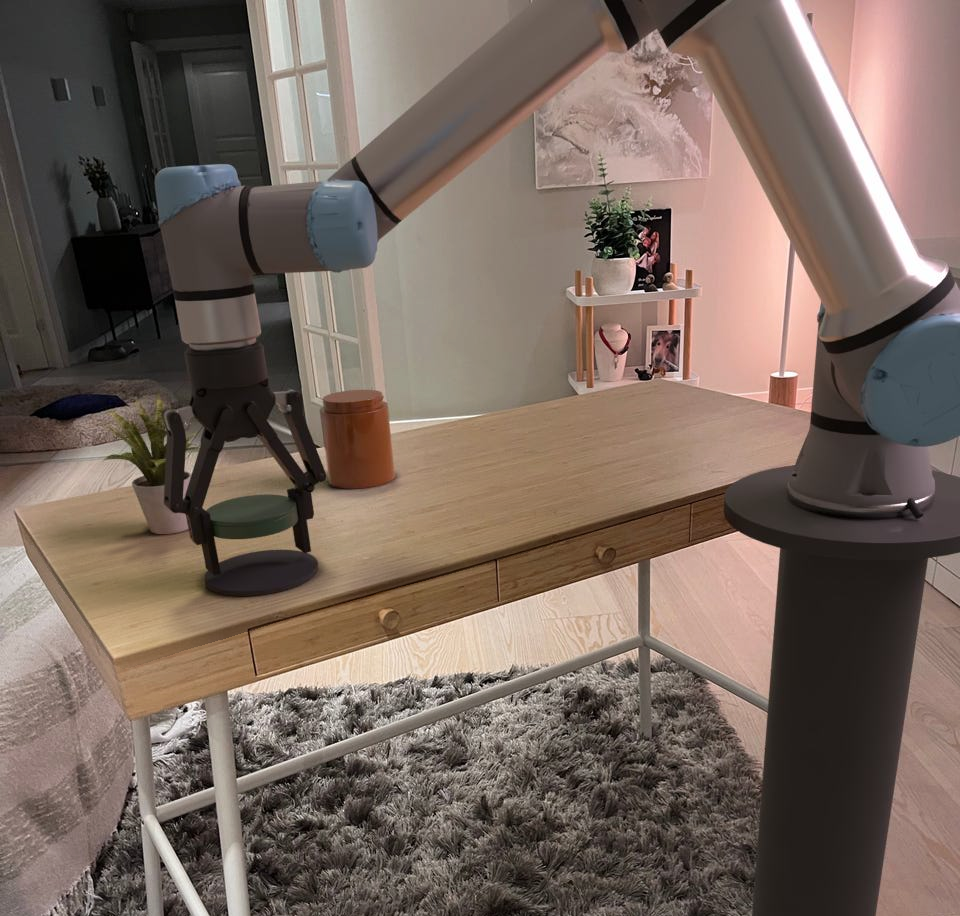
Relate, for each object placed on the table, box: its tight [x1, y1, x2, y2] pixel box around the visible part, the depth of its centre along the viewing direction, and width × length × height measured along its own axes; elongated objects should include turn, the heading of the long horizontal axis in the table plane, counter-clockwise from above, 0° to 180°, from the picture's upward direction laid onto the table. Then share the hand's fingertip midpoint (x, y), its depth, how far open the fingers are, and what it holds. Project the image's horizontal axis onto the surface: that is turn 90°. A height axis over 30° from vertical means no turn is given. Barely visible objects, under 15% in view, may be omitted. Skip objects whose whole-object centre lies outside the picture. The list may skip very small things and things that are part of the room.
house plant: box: [100, 393, 201, 535], centre depth 117 cm, size 14×14×16 cm
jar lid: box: [205, 493, 298, 540], centre depth 101 cm, size 10×9×2 cm
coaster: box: [204, 549, 320, 597], centre depth 104 cm, size 12×12×1 cm
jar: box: [319, 389, 396, 490], centre depth 133 cm, size 9×9×12 cm
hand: (259, 559), depth 103 cm, fingers closed on jar lid, 9 cm apart
